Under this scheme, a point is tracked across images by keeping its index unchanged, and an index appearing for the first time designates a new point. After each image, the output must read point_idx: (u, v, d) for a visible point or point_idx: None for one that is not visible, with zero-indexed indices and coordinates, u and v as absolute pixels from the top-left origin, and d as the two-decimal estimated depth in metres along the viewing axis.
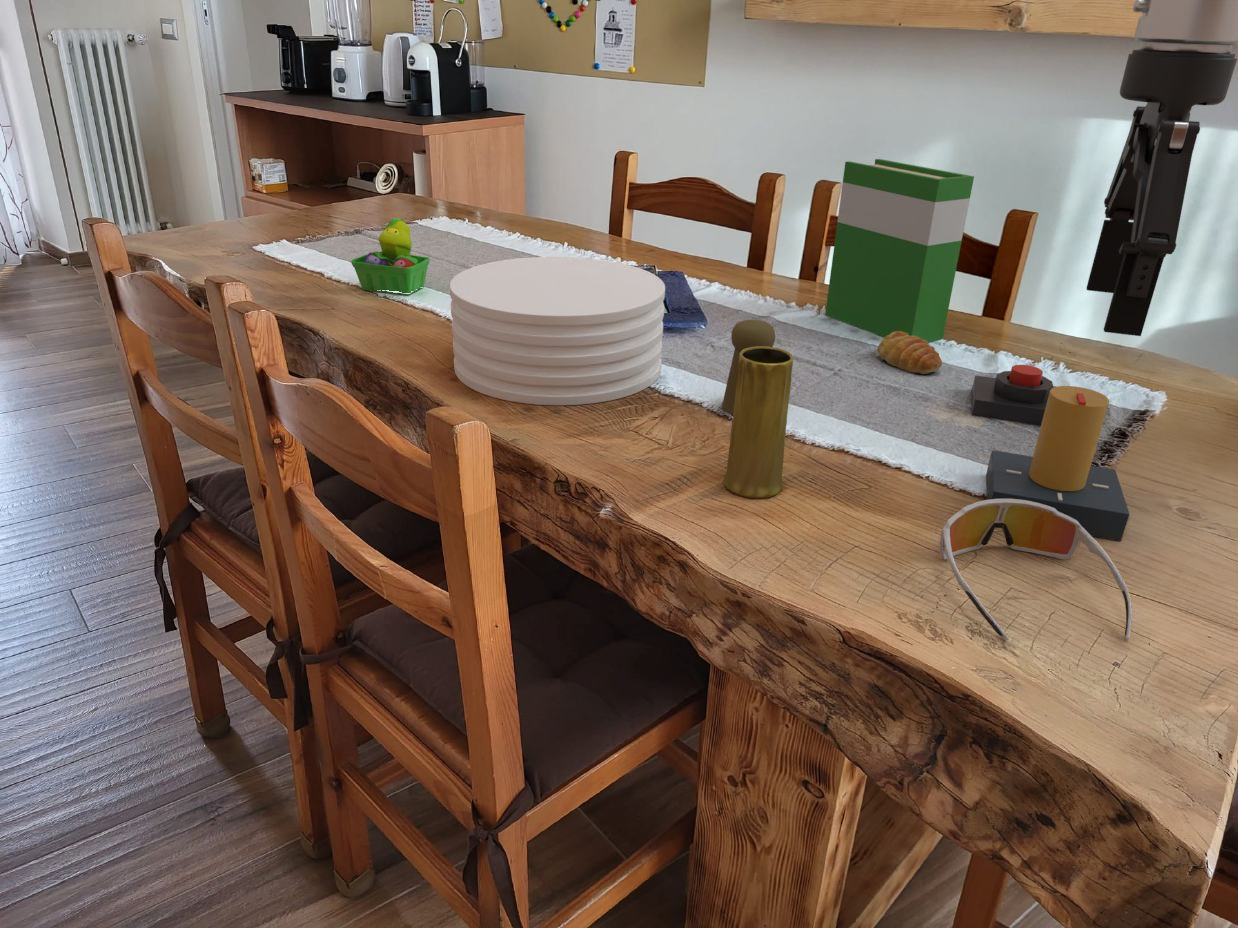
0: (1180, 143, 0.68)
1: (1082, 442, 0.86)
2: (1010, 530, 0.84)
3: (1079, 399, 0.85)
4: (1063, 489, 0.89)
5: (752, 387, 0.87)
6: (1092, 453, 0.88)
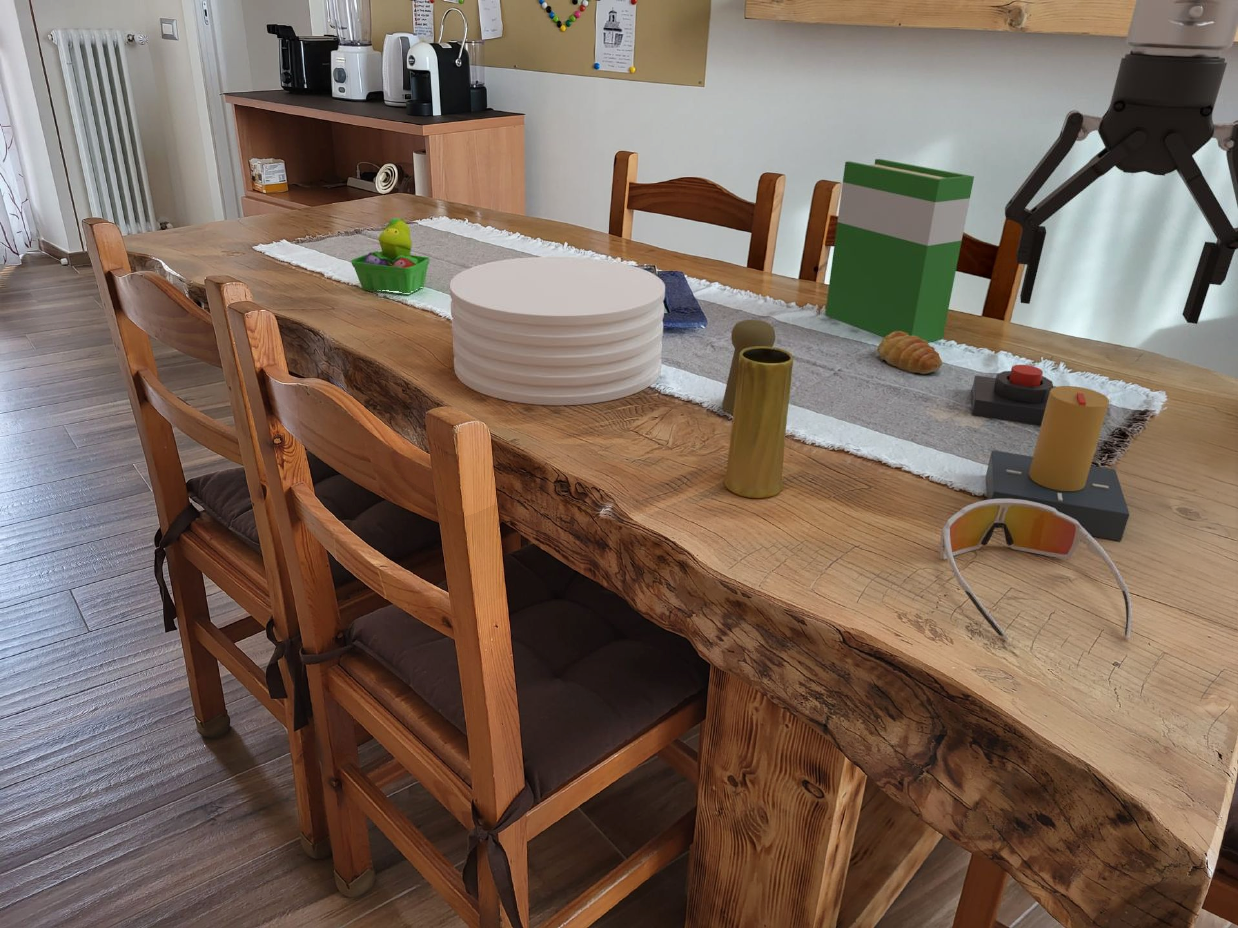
0: None
1: (1082, 442, 0.86)
2: (1010, 530, 0.84)
3: (1079, 399, 0.85)
4: (1063, 489, 0.89)
5: (752, 387, 0.87)
6: (1092, 453, 0.88)
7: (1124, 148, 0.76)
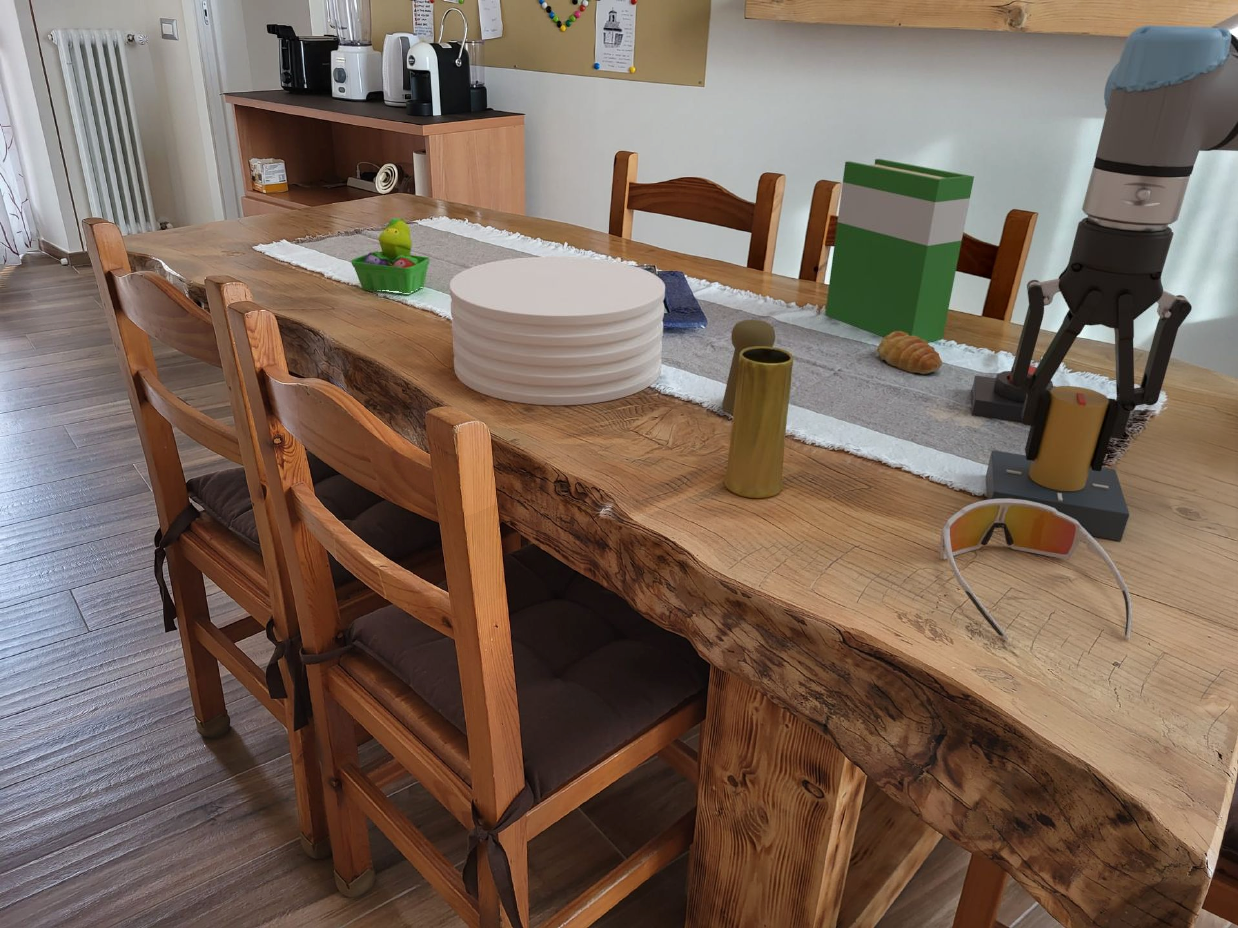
0: None
1: (1082, 442, 0.86)
2: (1010, 530, 0.84)
3: (1079, 399, 0.85)
4: (1063, 489, 0.89)
5: (752, 387, 0.87)
6: (1092, 453, 0.88)
7: (1082, 305, 0.82)
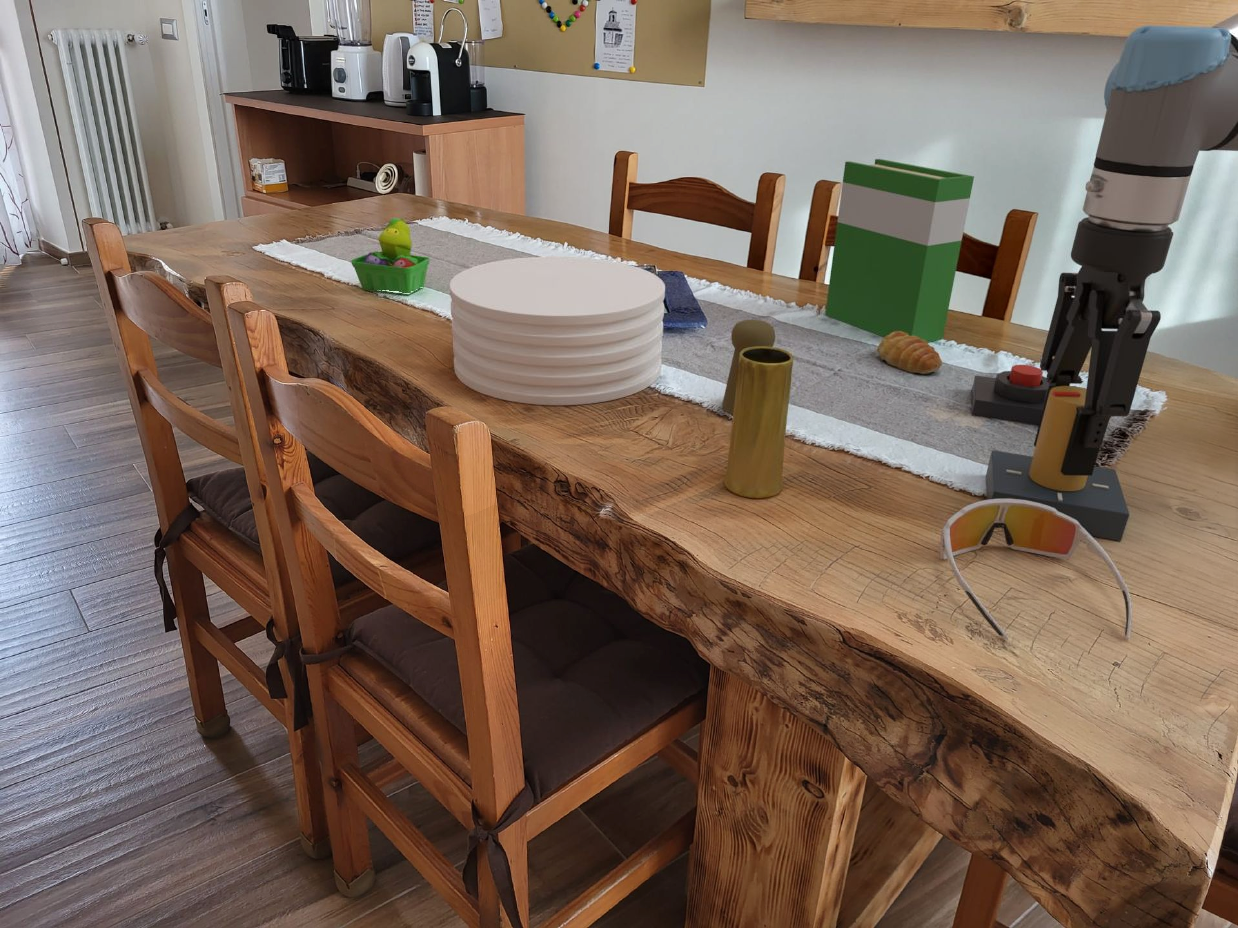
0: (1143, 331, 0.78)
1: (1049, 435, 0.88)
2: (1010, 530, 0.84)
3: (1060, 392, 0.87)
4: (1033, 479, 0.91)
5: (752, 387, 0.87)
6: (1063, 454, 0.87)
7: (1074, 295, 0.85)
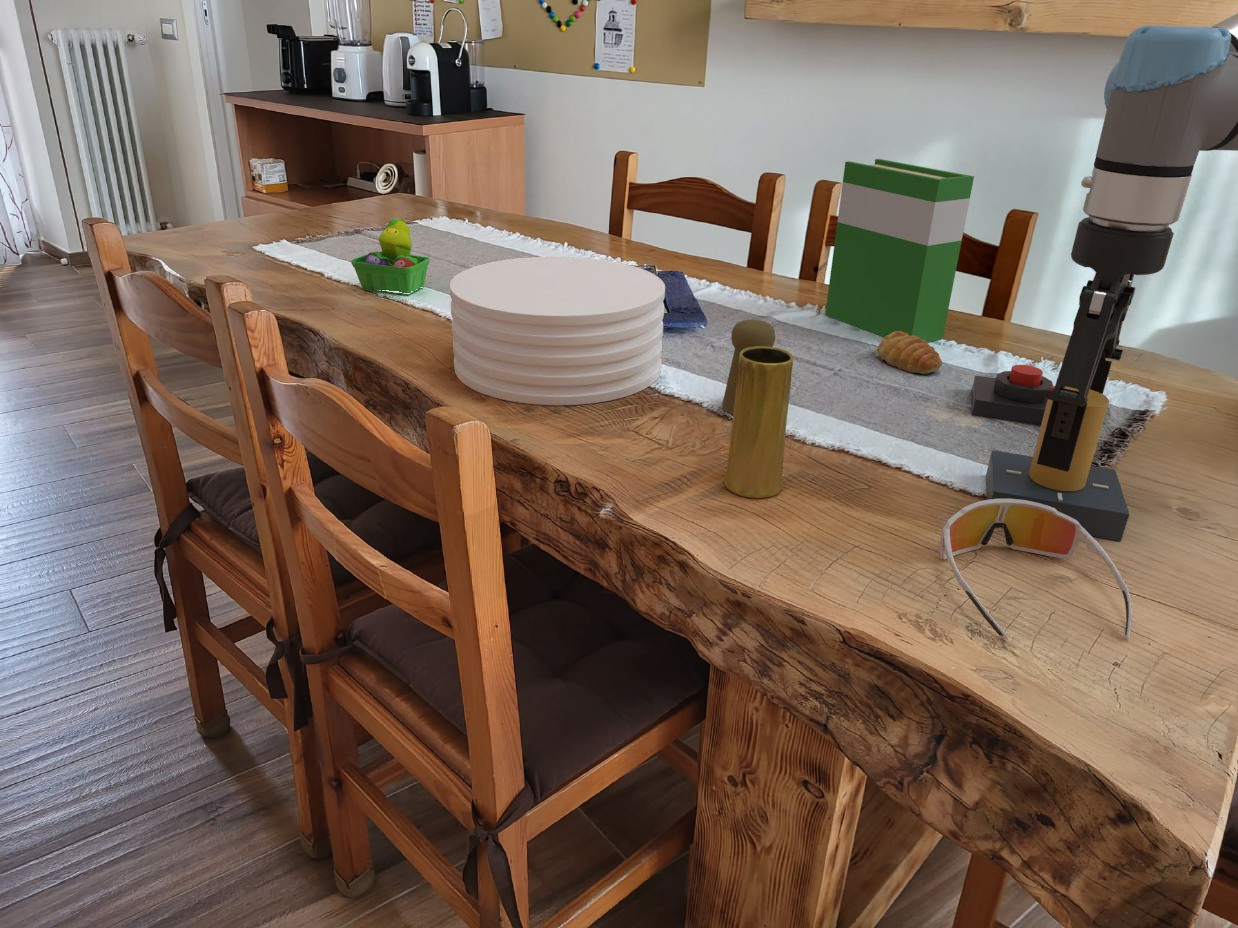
0: (1098, 310, 0.77)
1: (1041, 428, 0.89)
2: (1010, 530, 0.84)
3: None
4: (1029, 472, 0.92)
5: (752, 387, 0.87)
6: None
7: None
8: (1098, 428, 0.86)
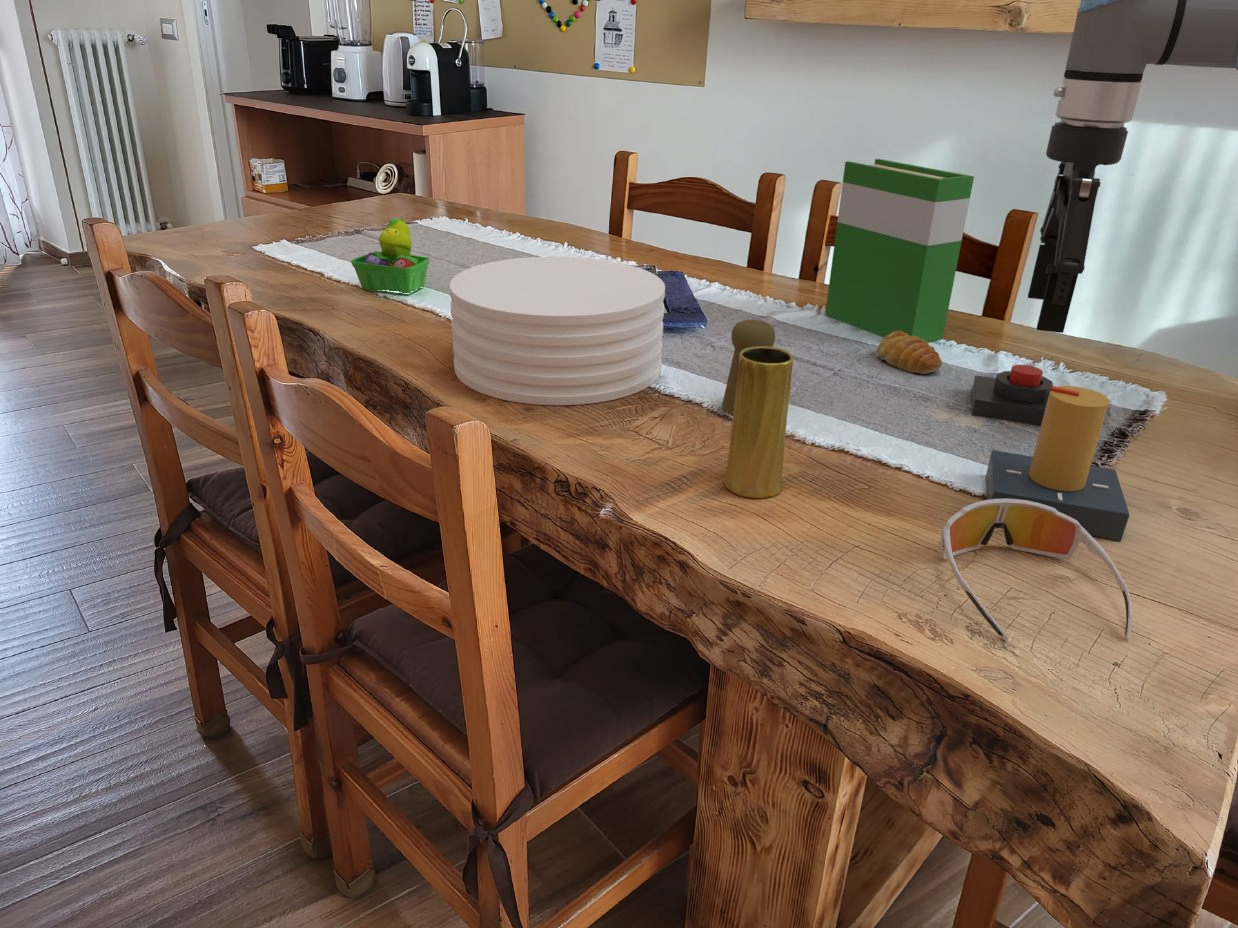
0: (1086, 194, 0.95)
1: (1041, 428, 0.89)
2: (1010, 530, 0.84)
3: (1060, 388, 0.88)
4: (1029, 472, 0.92)
5: (752, 387, 0.87)
6: (1048, 449, 0.88)
7: None
8: (1098, 428, 0.86)
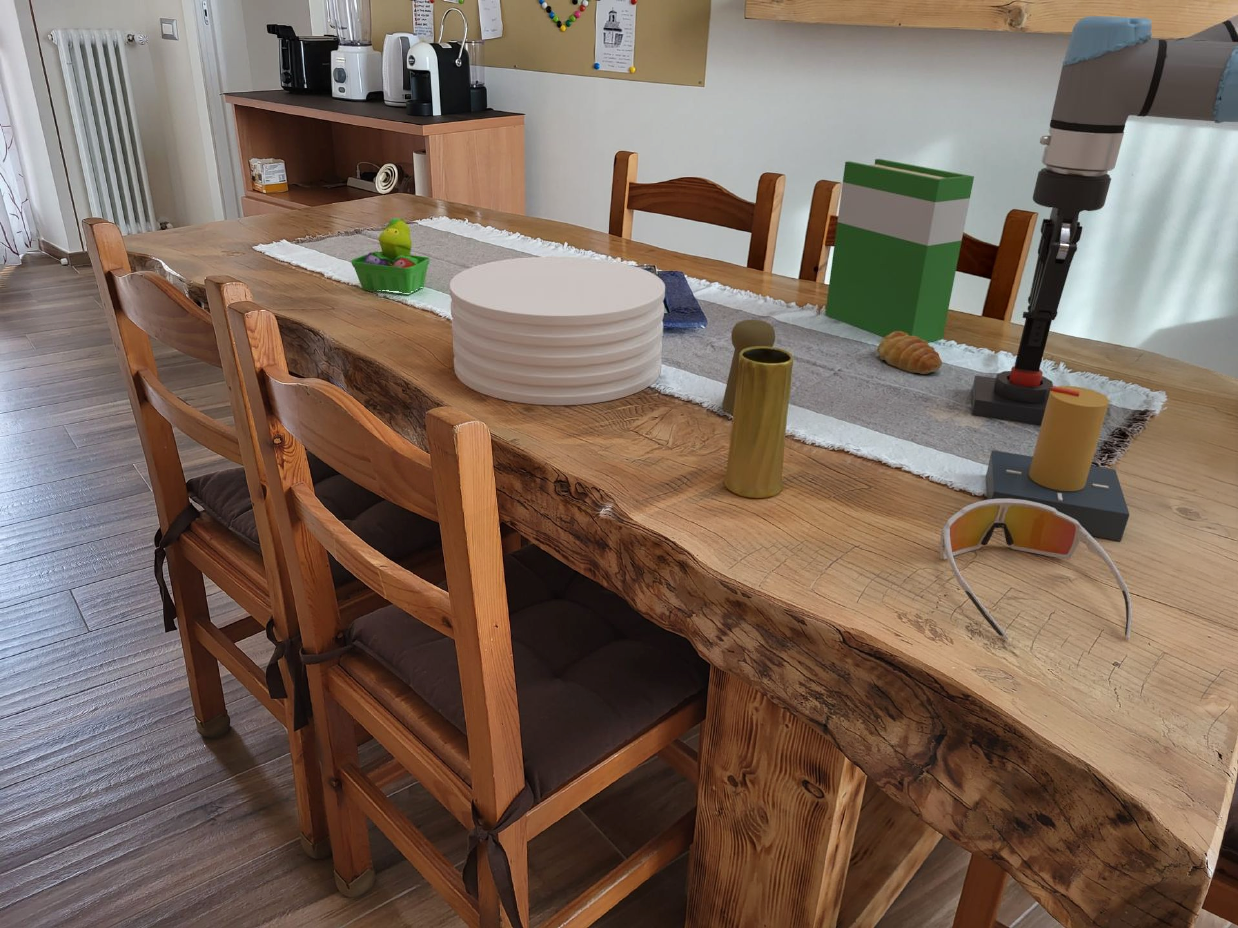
0: (1063, 258, 1.01)
1: (1041, 428, 0.89)
2: (1010, 530, 0.84)
3: (1060, 388, 0.88)
4: (1029, 472, 0.92)
5: (752, 387, 0.87)
6: (1048, 449, 0.88)
7: None
8: (1098, 428, 0.86)
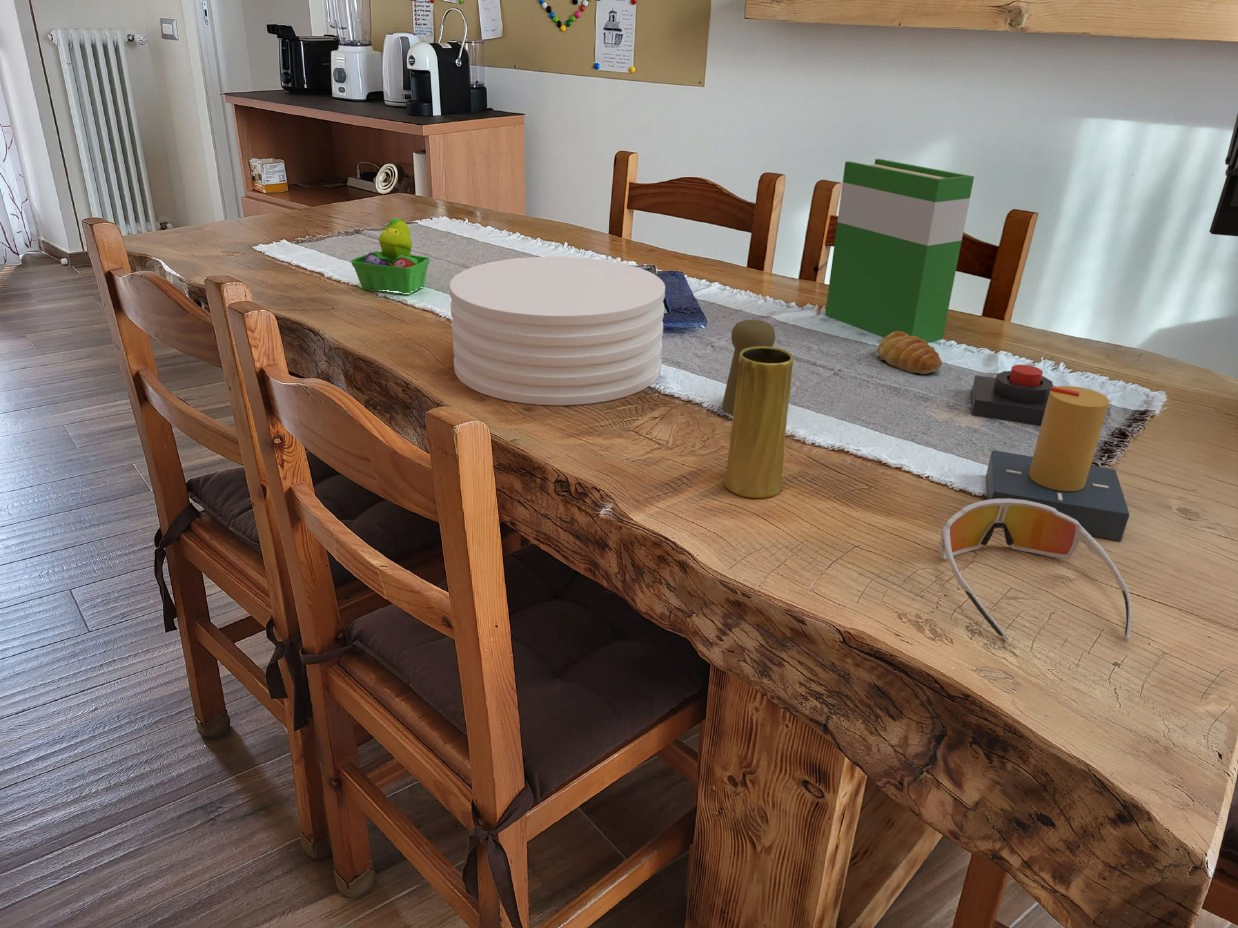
0: None
1: (1041, 428, 0.89)
2: (1010, 530, 0.84)
3: (1060, 388, 0.88)
4: (1029, 472, 0.92)
5: (752, 387, 0.87)
6: (1048, 449, 0.88)
7: None
8: (1098, 428, 0.86)
